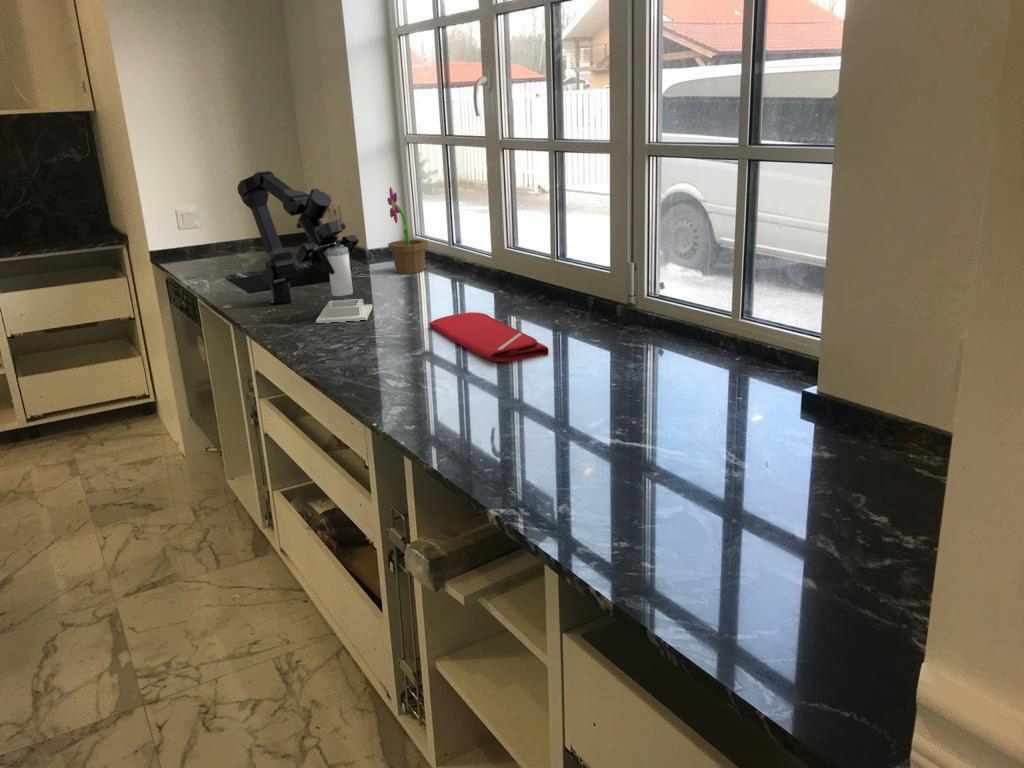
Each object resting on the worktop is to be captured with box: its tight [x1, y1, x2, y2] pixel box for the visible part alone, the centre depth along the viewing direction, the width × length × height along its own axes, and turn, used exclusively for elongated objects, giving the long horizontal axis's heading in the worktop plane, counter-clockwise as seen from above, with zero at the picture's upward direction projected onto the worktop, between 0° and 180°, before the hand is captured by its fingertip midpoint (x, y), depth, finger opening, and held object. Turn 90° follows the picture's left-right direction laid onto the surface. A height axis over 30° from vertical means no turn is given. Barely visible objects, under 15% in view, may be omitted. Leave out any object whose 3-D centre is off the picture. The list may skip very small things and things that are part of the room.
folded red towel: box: [428, 311, 550, 363], centre depth 213 cm, size 16×41×4 cm, turn 25°
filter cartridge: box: [326, 247, 354, 297], centre depth 242 cm, size 6×6×13 cm
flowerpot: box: [387, 186, 429, 275], centre depth 300 cm, size 14×14×30 cm
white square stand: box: [315, 298, 373, 324], centre depth 245 cm, size 16×14×4 cm
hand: (342, 271), depth 241 cm, fingers closed on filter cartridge, 6 cm apart
